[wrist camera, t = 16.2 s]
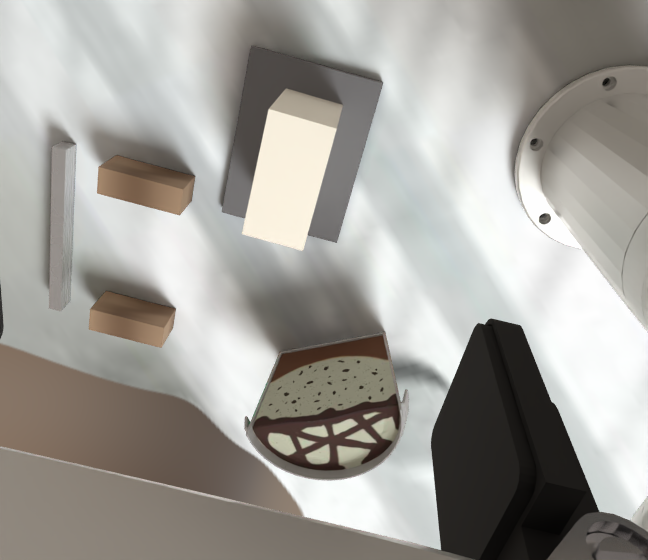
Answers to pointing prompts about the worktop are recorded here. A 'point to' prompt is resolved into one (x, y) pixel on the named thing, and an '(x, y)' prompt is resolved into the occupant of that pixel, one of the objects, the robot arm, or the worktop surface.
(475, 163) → the worktop surface
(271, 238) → the cream cuboid
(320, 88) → the mat
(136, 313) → the blocks
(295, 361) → the food container
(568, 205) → the robot arm
